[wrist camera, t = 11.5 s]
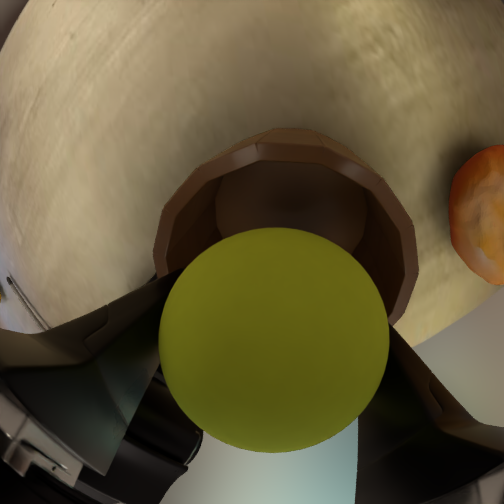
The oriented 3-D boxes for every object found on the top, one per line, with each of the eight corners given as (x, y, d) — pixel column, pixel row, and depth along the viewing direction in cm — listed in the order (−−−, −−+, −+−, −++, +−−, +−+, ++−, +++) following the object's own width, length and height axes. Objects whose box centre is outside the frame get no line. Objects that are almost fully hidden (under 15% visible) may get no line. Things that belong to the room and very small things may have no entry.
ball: (260, 440, 10) (269, 537, 3) (157, 327, 11) (62, 323, 5) (372, 337, 11) (478, 337, 5) (272, 228, 12) (292, 130, 6)
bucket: (284, 306, 20) (274, 392, 14) (178, 208, 18) (115, 269, 11) (402, 223, 16) (452, 295, 9) (294, 91, 13) (290, 74, 7)
